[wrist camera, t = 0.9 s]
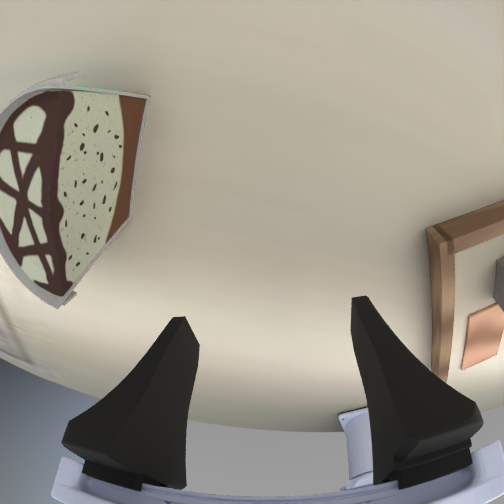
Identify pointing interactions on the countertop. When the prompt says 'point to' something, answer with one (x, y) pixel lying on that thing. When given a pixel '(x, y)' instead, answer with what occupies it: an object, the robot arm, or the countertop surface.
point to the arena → (443, 288)
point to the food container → (66, 180)
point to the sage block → (499, 283)
